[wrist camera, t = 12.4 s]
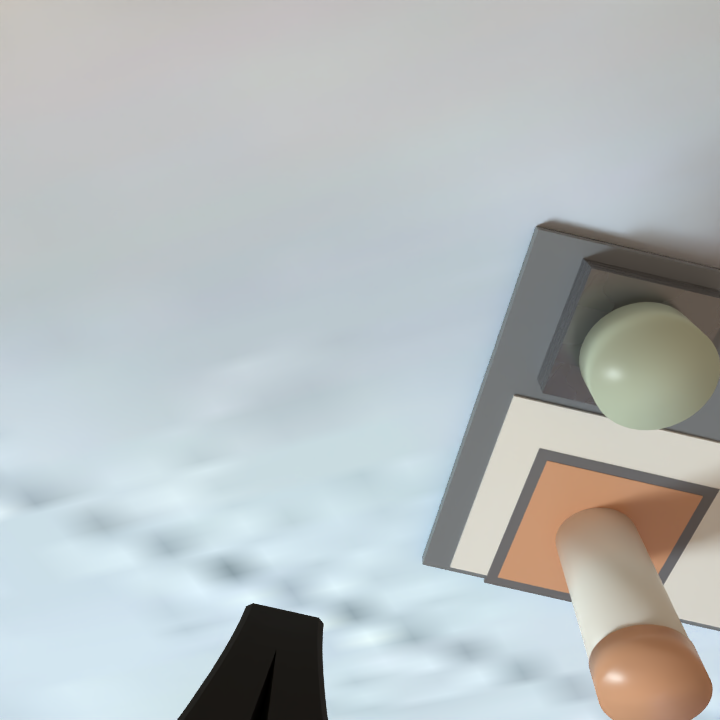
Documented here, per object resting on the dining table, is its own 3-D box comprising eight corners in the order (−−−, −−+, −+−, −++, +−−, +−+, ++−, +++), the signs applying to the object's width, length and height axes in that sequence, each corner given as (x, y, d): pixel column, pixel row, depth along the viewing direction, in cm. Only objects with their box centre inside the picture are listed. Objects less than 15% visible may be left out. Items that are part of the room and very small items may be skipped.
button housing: (717, 289, 18) (733, 301, 17) (659, 406, 20) (670, 422, 19) (583, 258, 18) (591, 268, 17) (536, 378, 20) (542, 393, 19)
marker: (650, 513, 21) (730, 666, 16) (623, 576, 23) (688, 737, 17) (566, 500, 21) (617, 647, 16) (544, 563, 23) (584, 719, 17)
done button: (700, 301, 18) (743, 337, 16) (654, 395, 19) (686, 441, 17) (593, 276, 18) (619, 308, 15) (554, 372, 19) (573, 415, 17)
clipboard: (1031, 342, 18) (1048, 349, 18) (799, 643, 24) (807, 655, 23) (535, 226, 18) (539, 230, 17) (421, 558, 24) (421, 568, 23)
